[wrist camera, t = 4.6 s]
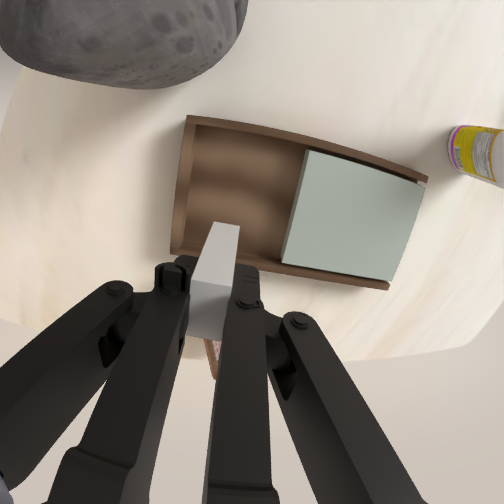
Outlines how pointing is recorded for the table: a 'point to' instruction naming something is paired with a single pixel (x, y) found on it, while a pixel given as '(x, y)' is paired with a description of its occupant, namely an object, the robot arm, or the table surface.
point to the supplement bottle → (478, 153)
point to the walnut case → (253, 191)
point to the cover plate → (350, 218)
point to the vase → (121, 38)
